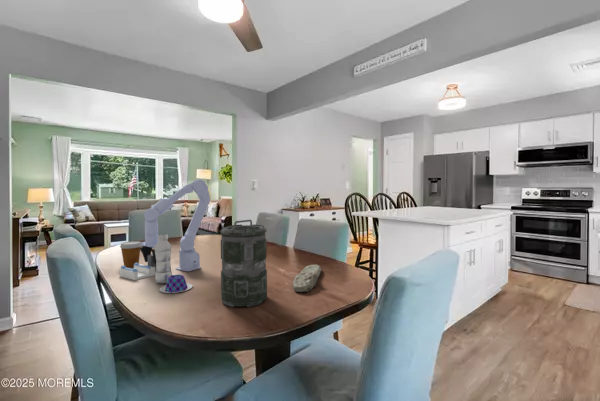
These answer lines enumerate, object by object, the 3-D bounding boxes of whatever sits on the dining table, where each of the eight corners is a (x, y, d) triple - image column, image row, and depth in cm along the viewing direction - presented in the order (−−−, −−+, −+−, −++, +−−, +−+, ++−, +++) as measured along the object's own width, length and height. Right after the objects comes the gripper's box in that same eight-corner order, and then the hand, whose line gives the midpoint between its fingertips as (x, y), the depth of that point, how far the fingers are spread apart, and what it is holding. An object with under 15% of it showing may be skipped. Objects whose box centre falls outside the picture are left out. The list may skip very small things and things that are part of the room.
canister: (246, 289, 119) (246, 217, 118) (276, 298, 109) (275, 219, 108) (211, 301, 107) (210, 220, 105) (241, 312, 96) (240, 224, 95)
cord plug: (157, 269, 145) (157, 254, 145) (151, 270, 142) (151, 255, 142) (153, 268, 147) (153, 254, 146) (147, 270, 144) (147, 255, 144)
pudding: (155, 288, 121) (155, 275, 121) (186, 282, 128) (186, 270, 128) (164, 297, 112) (164, 283, 111) (197, 290, 119) (196, 276, 119)
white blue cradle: (168, 271, 145) (167, 262, 145) (134, 280, 131) (134, 269, 131) (153, 268, 151) (152, 259, 151) (119, 276, 138) (119, 266, 137)
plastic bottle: (166, 285, 124) (165, 236, 123) (151, 284, 125) (150, 236, 124) (175, 281, 130) (174, 234, 129) (161, 280, 131) (160, 233, 131)
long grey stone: (325, 273, 147) (304, 273, 149) (324, 262, 147) (304, 262, 149) (314, 293, 112) (288, 293, 114) (313, 279, 112) (287, 279, 114)
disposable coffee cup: (135, 268, 150) (134, 244, 150) (116, 268, 150) (115, 244, 150) (145, 264, 160) (145, 241, 159) (127, 264, 160) (127, 241, 160)
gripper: (134, 233, 144) (135, 262, 145) (152, 236, 137) (153, 266, 137) (148, 232, 150) (149, 259, 151) (167, 234, 143) (167, 263, 143)
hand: (152, 262), depth 144 cm, fingers open, 7 cm apart
